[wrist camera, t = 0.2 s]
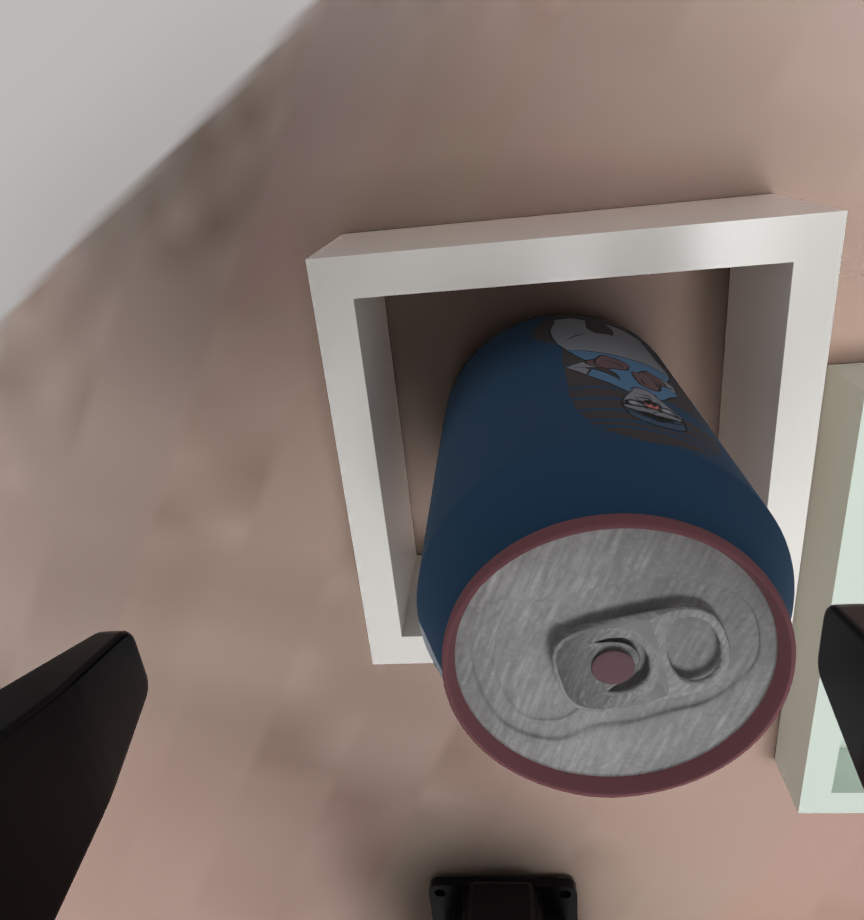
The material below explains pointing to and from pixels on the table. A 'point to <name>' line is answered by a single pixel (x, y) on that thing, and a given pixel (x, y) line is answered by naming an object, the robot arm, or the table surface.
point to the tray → (826, 602)
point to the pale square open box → (565, 259)
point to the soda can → (599, 568)
